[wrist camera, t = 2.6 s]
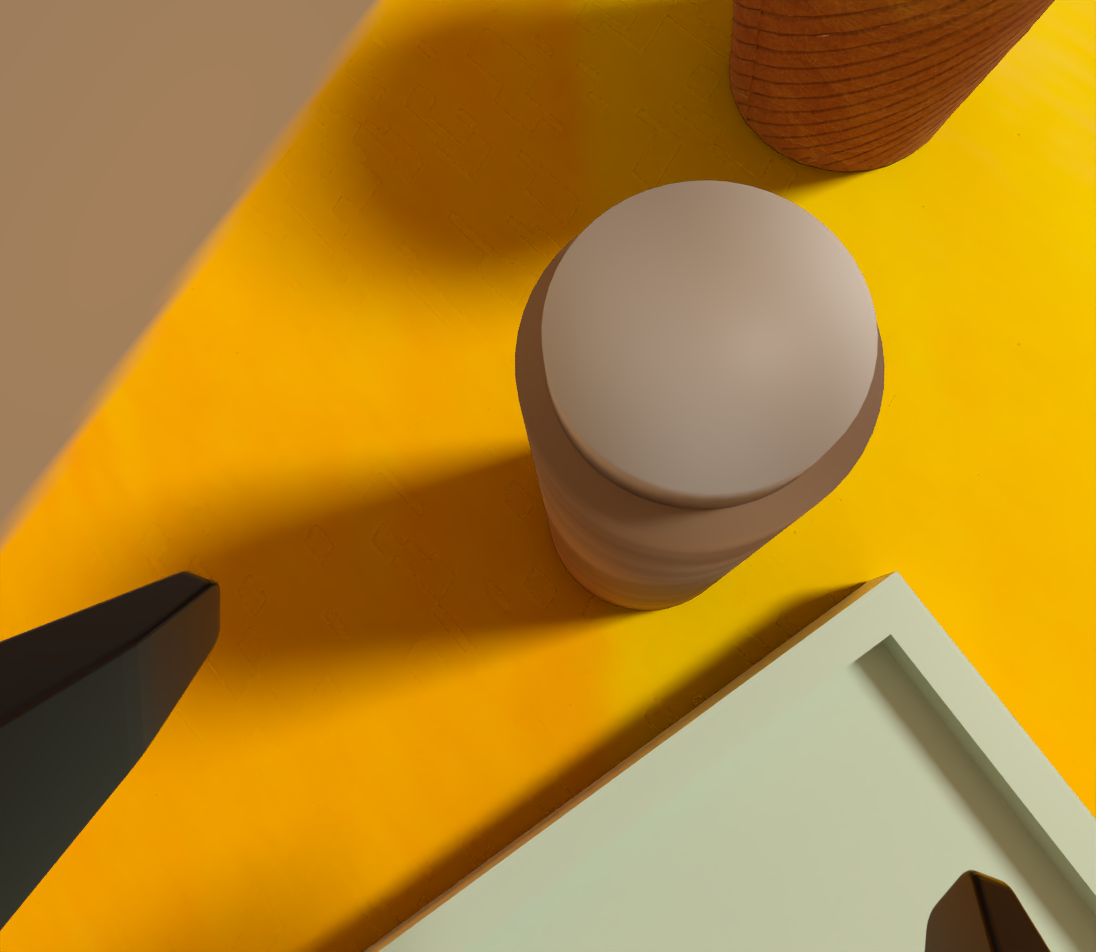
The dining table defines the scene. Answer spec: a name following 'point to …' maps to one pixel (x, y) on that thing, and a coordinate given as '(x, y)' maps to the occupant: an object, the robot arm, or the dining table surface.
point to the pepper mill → (693, 385)
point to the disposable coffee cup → (864, 71)
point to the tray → (795, 814)
